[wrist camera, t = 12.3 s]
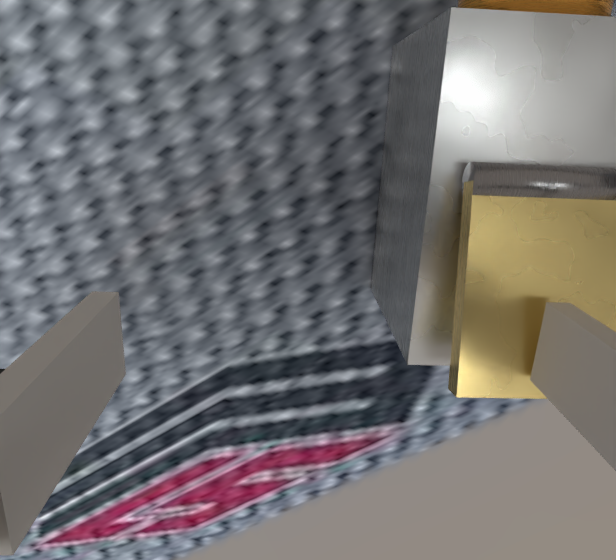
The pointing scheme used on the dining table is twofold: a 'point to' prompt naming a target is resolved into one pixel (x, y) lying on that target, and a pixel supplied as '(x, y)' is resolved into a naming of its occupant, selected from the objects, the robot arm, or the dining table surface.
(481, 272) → the plate
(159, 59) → the dining table surface
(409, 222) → the block
